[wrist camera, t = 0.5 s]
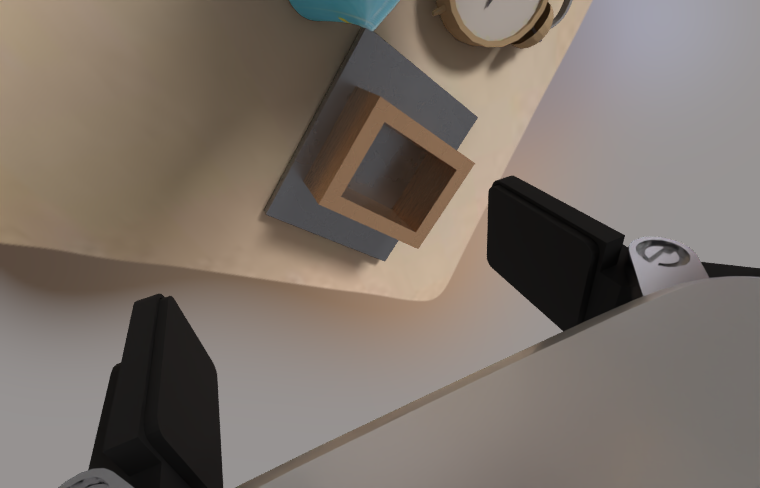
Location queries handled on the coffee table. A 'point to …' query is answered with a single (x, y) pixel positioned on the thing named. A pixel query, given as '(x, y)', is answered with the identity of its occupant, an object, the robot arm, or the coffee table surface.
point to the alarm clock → (499, 21)
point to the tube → (346, 11)
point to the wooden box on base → (376, 154)
